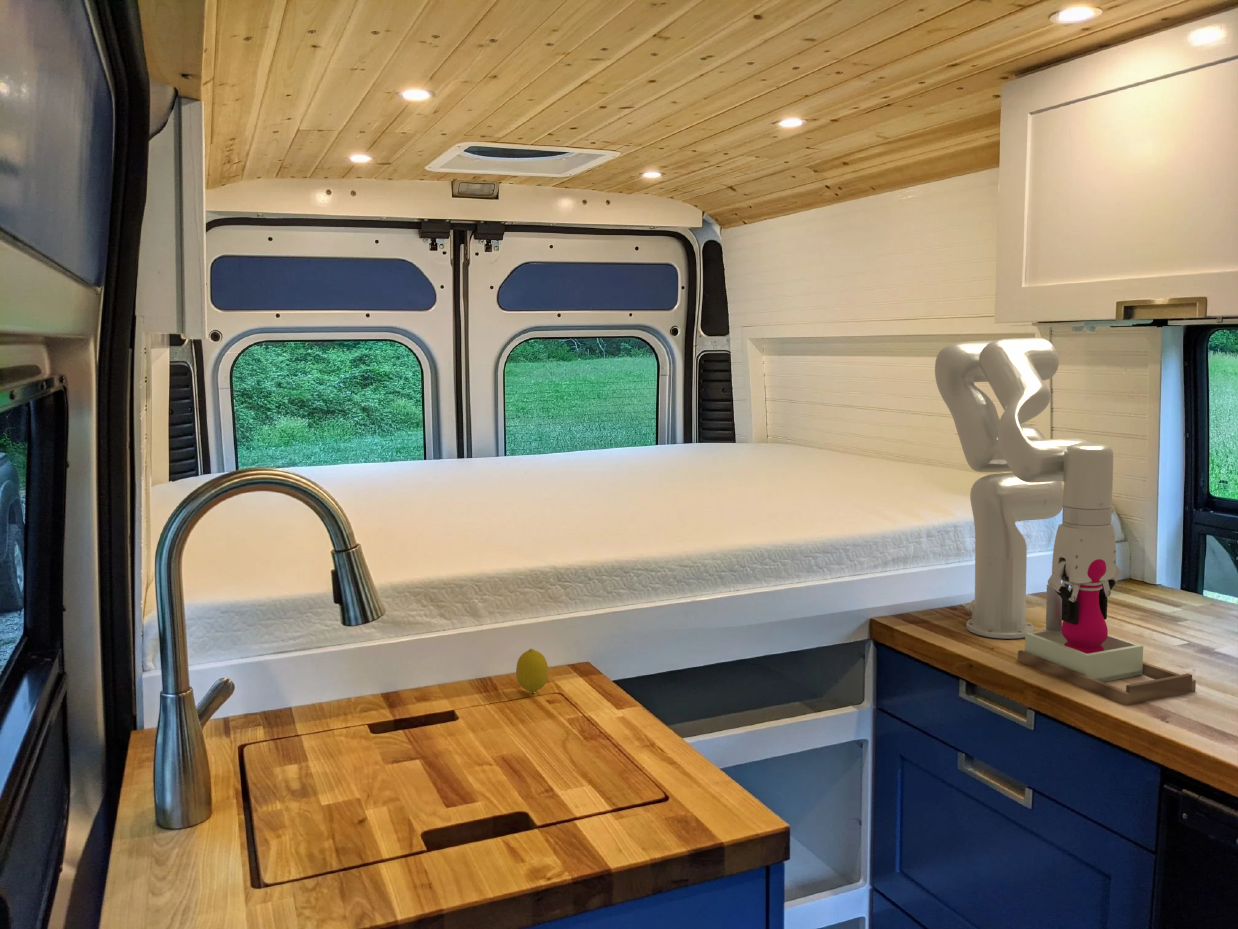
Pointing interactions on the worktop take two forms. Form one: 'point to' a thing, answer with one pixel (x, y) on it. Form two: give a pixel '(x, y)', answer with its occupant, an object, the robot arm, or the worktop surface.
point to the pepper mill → (1088, 614)
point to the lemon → (532, 670)
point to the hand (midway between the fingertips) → (1084, 619)
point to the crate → (1102, 666)
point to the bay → (1134, 693)
